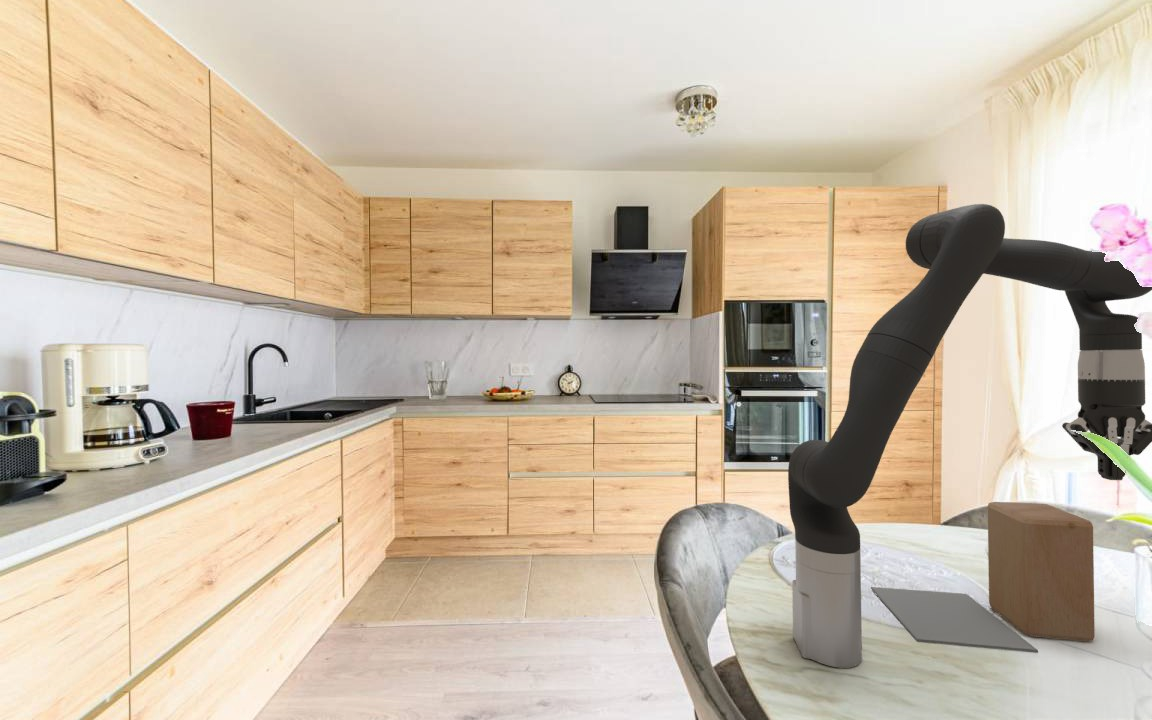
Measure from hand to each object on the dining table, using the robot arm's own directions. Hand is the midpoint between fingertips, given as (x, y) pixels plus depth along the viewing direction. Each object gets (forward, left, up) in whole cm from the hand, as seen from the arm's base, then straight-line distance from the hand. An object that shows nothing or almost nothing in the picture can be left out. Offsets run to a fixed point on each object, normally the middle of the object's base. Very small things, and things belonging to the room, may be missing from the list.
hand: (1111, 479), depth 79 cm
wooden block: (-11, 0, -26) cm, 28 cm away
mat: (-26, 0, -26) cm, 36 cm away
